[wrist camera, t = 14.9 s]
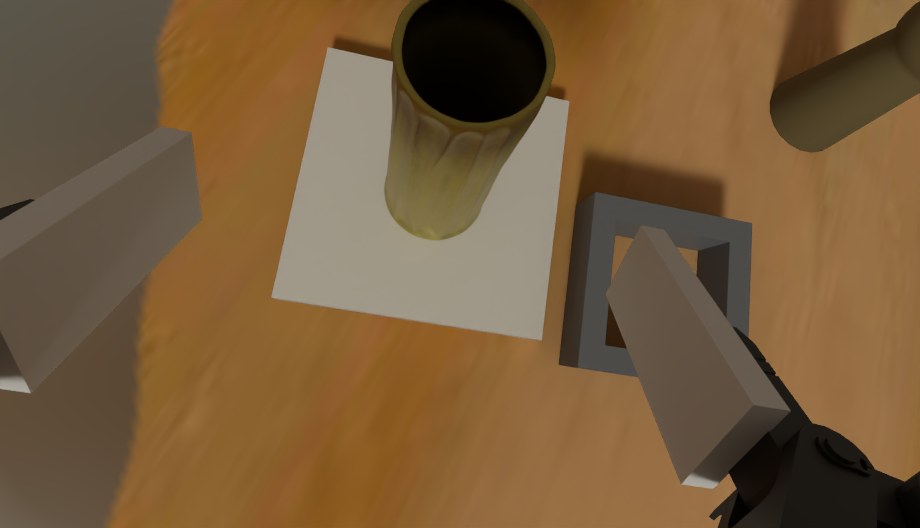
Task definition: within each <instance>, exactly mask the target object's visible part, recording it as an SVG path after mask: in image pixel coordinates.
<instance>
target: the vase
mask: <svg viewBox="0 0 920 528" xmlns="http://www.w3.org/2000/svg"><path fill="white" fill-rule="evenodd" d="M391 52H392V57H393V70H392V80H391V90H392V122H391V136H390V148H389V156H388V168H387V176H386V180H385V184H384V195H385V201H386V205H387V208H388V210H389V212H390V214H391V216H392V217H393V219H394V220H395V221H396V222H397V223H398V224H399V226H401V227H402V228H403V229H404V230H406V231H407V232H408V233H410V234H412V235H414V236H417V237H419V238H423V239H427V240H444V239H448V238H451V237H454V236H457V235H459V234H461V233H463V232H464V231H466V230H467V229H468V228H469V227H470V226H471V225H472V224H473V223H474V222H475V220H476V219H477V218H478V216H479V213H480V211H481V208H482V205H483V203H484V202H485V200H486V198H487V196H488V194H489V192H490V190H491V188H492V186H493V184H494V182H495V180H496V178H497V176H498V174H499V172H500V170H501V168H502V167H503V165H504V164H505V163H506V161H507V160H508V158H509V157H510V155H511V154H512V152H513V151H514V149H515V148H516V146H517V145H518V143H519V142H520V140H521V139H522V137H523V136H524V135H525V133H526V132H527V130H528V129H529V127H530V125H531V124H532V122H533V121H534V119H535V118H536V116H537V115H538V113H539V111H540V109H541V106H542V104H543V102H544V100H545V98H546V96H547V93H548V90H549V88H550V85H551V82H552V79H553V76H554V71H555V53H554V48H553V44H552V40H551V38H550V35H549V32H548V30H547V29H546V27H545V25H544V24H543V22H542V21H541V20H540V18H539V17H538V16H537V15H536V13H535V12H534V11H533V10H532V8H531V7H530V6H528V5H527V4H526V3H525V2H524V1H523V0H412V1H411V2H410V3H409V4H408V5H407V6H406V7H405V8H404V10H403V11H402V12H401V14H400V16H399V19H398V21H397V24H396V27H395V31H394V34H393V38H392V43H391Z"/></svg>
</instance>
